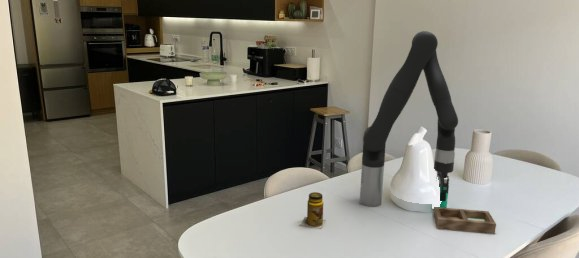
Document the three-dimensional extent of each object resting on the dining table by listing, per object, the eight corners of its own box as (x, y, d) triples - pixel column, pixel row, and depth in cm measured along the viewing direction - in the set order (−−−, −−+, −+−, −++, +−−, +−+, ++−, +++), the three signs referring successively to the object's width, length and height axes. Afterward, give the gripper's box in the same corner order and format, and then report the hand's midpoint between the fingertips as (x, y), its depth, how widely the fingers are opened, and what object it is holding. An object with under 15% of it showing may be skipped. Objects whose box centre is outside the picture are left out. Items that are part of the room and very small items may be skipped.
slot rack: (437, 228, 166) (438, 219, 165) (433, 216, 177) (434, 206, 176) (494, 233, 163) (496, 224, 162) (487, 220, 174) (488, 211, 173)
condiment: (321, 228, 165) (322, 199, 162) (299, 225, 168) (300, 196, 165) (325, 220, 172) (326, 192, 169) (304, 217, 175) (305, 189, 172)
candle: (447, 212, 180) (450, 185, 177) (432, 211, 181) (434, 184, 178) (445, 206, 186) (448, 179, 183) (430, 205, 187) (433, 178, 184)
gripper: (432, 153, 185) (429, 189, 190) (437, 164, 172) (434, 203, 176) (450, 154, 184) (447, 190, 188) (457, 165, 171) (453, 204, 175)
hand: (441, 196), depth 182 cm, fingers open, 8 cm apart
